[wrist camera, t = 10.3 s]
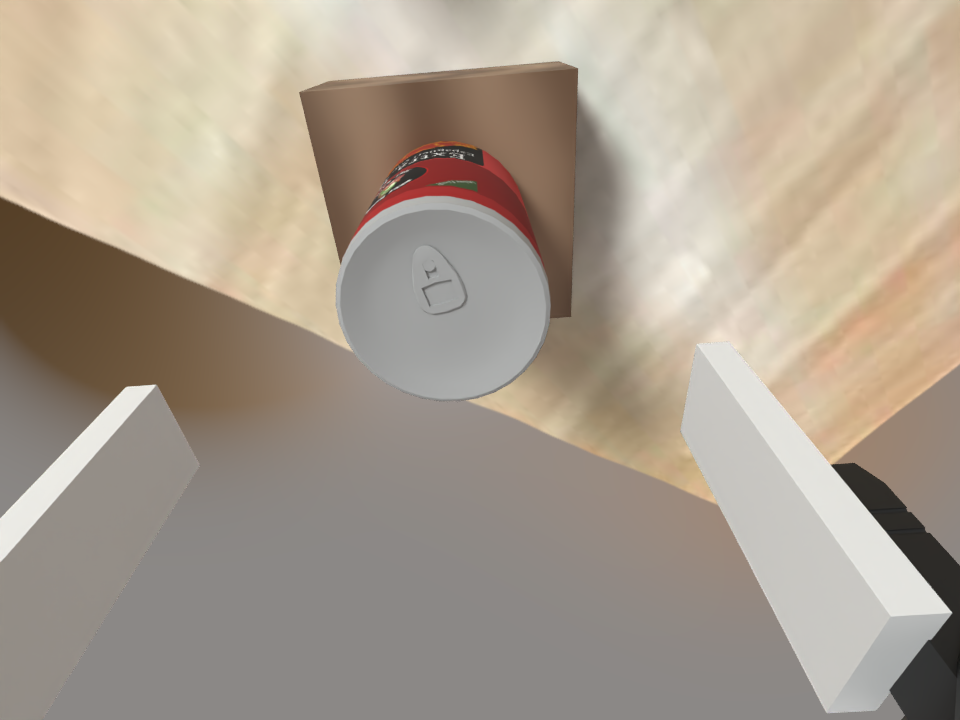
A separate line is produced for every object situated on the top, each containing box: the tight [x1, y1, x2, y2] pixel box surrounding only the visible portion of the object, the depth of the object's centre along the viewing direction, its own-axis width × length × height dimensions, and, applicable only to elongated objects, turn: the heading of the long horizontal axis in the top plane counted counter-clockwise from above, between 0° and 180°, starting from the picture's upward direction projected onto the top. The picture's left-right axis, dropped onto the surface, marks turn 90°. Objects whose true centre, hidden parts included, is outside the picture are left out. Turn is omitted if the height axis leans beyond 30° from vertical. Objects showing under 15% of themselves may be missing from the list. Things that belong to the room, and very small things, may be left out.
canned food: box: [336, 141, 551, 401], centre depth 22 cm, size 8×8×11 cm
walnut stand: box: [299, 61, 578, 318], centre depth 29 cm, size 13×13×6 cm
